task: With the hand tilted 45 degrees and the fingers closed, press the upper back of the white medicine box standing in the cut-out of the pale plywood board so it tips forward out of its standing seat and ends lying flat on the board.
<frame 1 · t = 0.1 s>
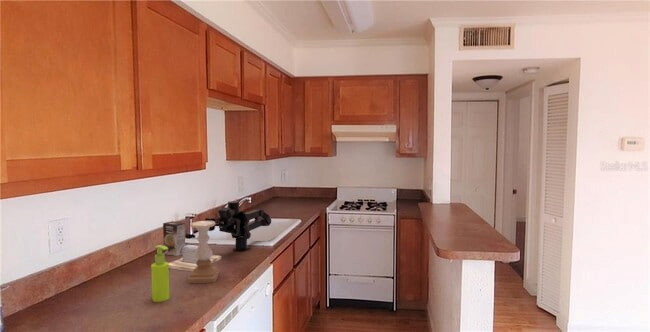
hand: (211, 229, 180), 17 cm above the worktop, tool horizontal, fingers open, 9 cm apart
pocket board: (194, 263, 182), on the worktop
candle holder: (204, 278, 162), on the worktop
soap dispenser: (161, 299, 141), on the worktop
coffee box: (174, 253, 197), on the worktop
medicine box: (192, 264, 180), resting in pocket board
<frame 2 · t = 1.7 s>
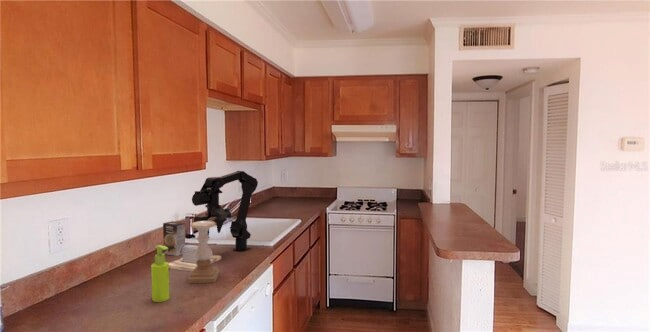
hand: (213, 234, 189), 12 cm above the worktop, tool pointing down, fingers open, 6 cm apart
nothing on the worktop moved.
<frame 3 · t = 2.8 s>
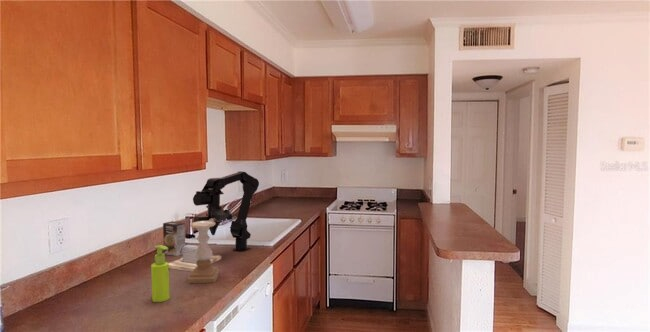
hand: (213, 235, 189), 12 cm above the worktop, tool pointing down, fingers closed
nothing on the worktop moved.
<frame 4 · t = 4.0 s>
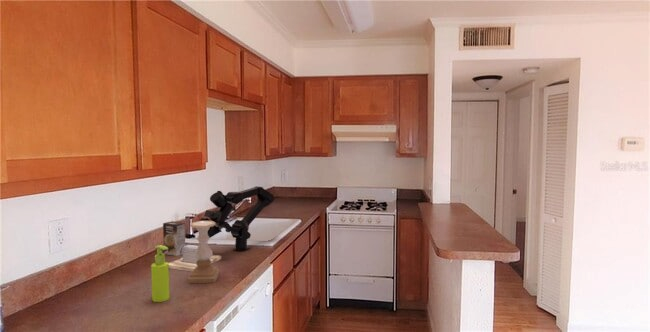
hand: (206, 239, 186), 10 cm above the worktop, tool tilted 45°, fingers closed
nothing on the worktop moved.
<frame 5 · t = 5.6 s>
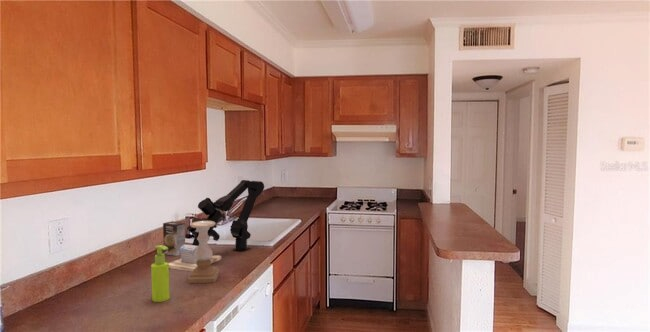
hand: (192, 247, 180), 8 cm above the worktop, tool tilted 45°, fingers closed
medicine box: (192, 263, 180), resting in pocket board
everything else where it was.
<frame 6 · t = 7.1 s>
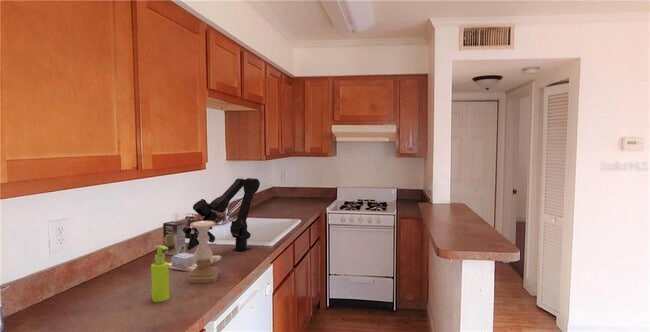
hand: (188, 249, 178), 8 cm above the worktop, tool tilted 45°, fingers closed
medicine box: (191, 257, 179), point 4 cm above the worktop, touching pocket board
everything else where it was.
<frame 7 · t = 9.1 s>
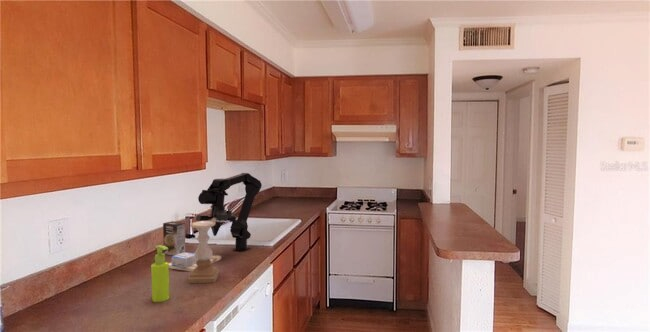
hand: (214, 235, 189), 11 cm above the worktop, tool pointing down, fingers closed
nothing on the worktop moved.
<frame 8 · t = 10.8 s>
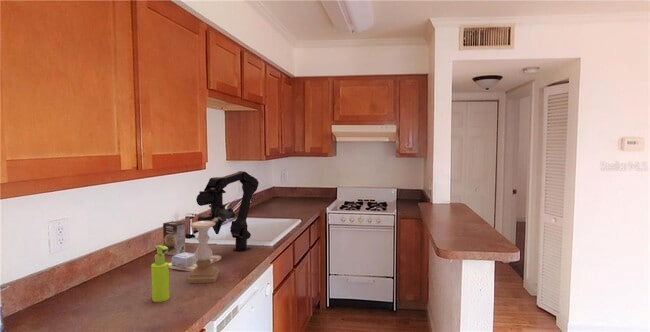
hand: (217, 234, 190), 12 cm above the worktop, tool pointing down, fingers closed
nothing on the worktop moved.
at the end: medicine box tilted 89°; medicine box moved 3.7 cm from its start; medicine box inside the target area (7.7 cm from its centre), point 3.6 cm above the worktop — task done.
